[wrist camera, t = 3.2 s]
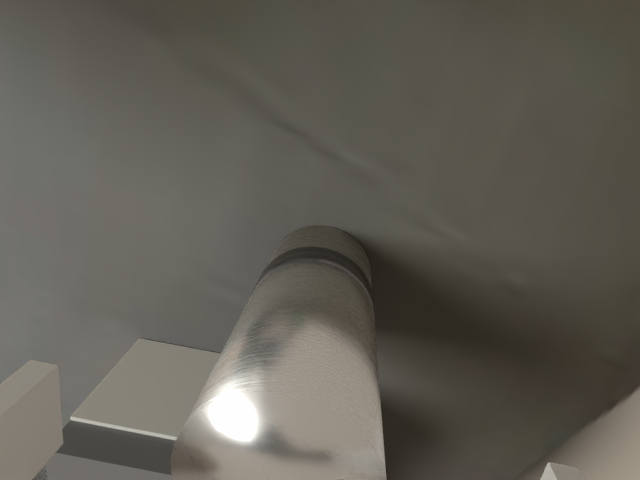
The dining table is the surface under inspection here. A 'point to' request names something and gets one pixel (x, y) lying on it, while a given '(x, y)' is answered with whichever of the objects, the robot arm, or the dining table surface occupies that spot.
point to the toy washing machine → (133, 415)
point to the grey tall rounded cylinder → (294, 374)
